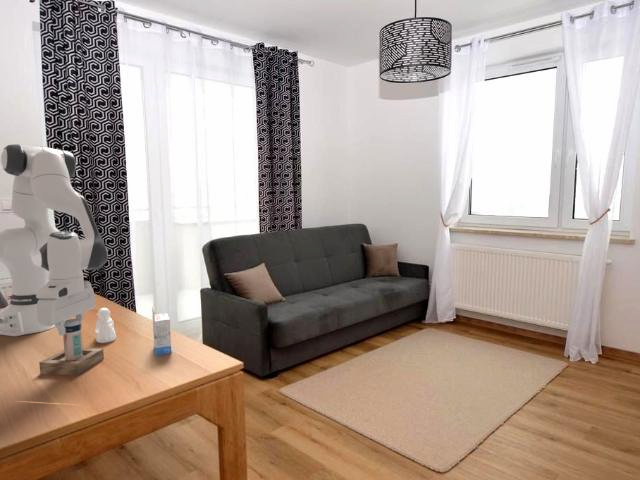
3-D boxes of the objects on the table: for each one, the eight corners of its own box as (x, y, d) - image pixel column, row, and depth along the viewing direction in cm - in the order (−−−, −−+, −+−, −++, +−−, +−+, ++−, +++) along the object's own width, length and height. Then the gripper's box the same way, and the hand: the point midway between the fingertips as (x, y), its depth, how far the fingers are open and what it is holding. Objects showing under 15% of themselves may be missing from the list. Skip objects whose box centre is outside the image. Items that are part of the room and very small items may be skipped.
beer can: (70, 356, 132) (67, 318, 130) (86, 355, 132) (83, 318, 130) (61, 362, 127) (58, 323, 125) (78, 362, 127) (75, 323, 126)
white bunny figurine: (97, 347, 146) (95, 312, 145) (94, 340, 153) (92, 307, 152) (117, 343, 150) (115, 309, 148) (114, 336, 157) (111, 304, 156)
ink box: (172, 354, 139) (170, 310, 137) (156, 356, 137) (153, 312, 135) (169, 345, 147) (167, 304, 145) (153, 348, 145) (151, 306, 143)
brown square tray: (40, 376, 125) (39, 362, 124) (69, 360, 136) (68, 347, 136) (78, 377, 123) (77, 364, 123) (104, 361, 135) (103, 348, 134)
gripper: (81, 279, 138) (84, 320, 139) (30, 294, 117) (35, 342, 119) (99, 279, 137) (102, 321, 138) (51, 294, 117) (55, 343, 118)
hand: (70, 331), depth 128 cm, fingers closed on beer can, 5 cm apart
